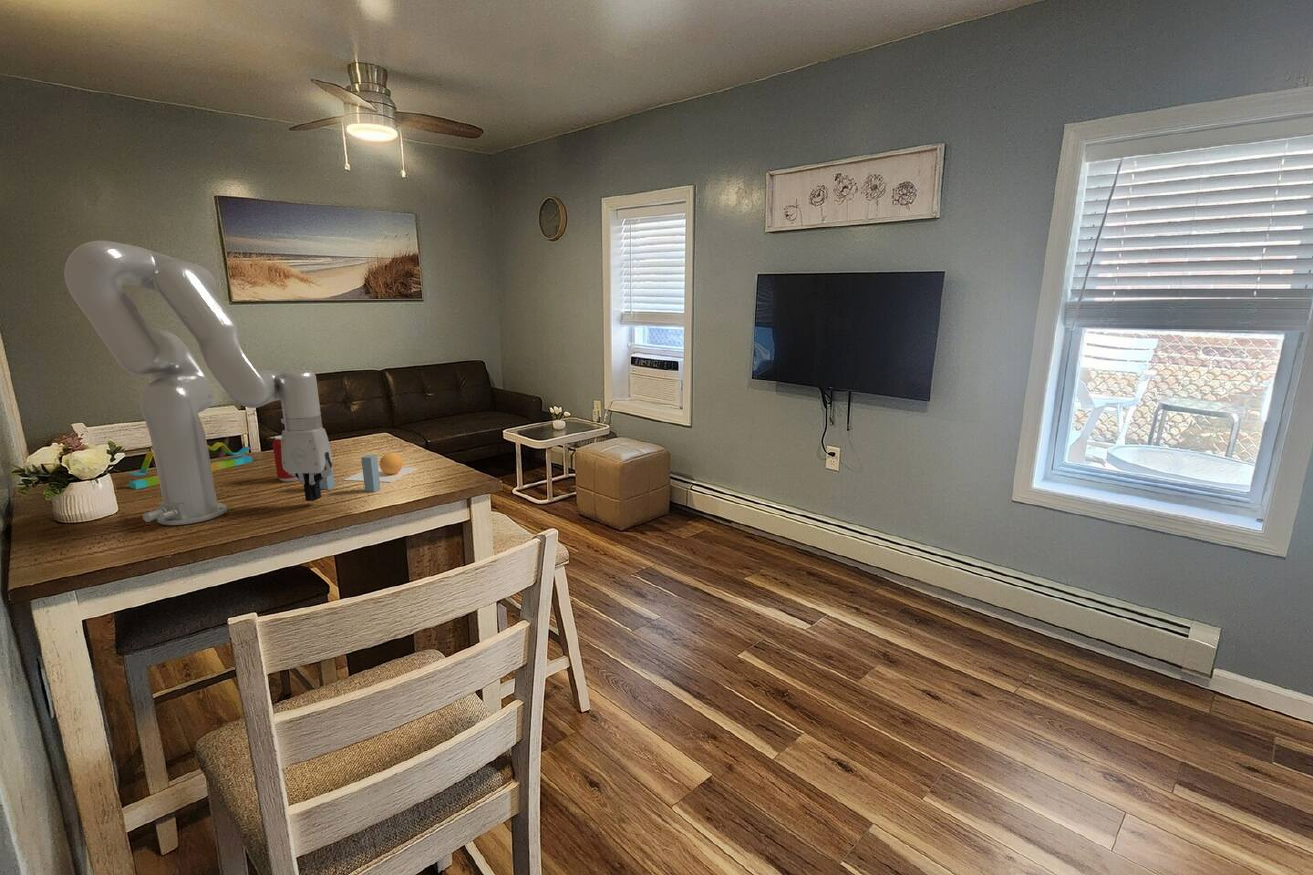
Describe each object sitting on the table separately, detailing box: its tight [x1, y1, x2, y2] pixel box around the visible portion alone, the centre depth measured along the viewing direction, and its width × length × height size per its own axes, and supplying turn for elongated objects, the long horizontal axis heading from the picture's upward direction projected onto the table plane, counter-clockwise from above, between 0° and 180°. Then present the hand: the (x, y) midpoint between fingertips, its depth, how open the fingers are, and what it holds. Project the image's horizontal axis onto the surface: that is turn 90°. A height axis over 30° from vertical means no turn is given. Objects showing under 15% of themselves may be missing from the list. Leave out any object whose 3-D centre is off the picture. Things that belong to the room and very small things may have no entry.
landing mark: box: [343, 465, 419, 483], centre depth 171 cm, size 14×14×1 cm
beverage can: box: [272, 434, 300, 482], centre depth 165 cm, size 6×6×12 cm
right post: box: [360, 454, 381, 493], centre depth 155 cm, size 3×3×9 cm
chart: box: [127, 441, 254, 490], centre depth 171 cm, size 30×3×15 cm, turn 156°
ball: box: [378, 452, 404, 475], centre depth 170 cm, size 6×6×6 cm
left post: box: [319, 467, 336, 491], centre depth 158 cm, size 3×3×9 cm
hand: (313, 499), depth 145 cm, fingers closed
